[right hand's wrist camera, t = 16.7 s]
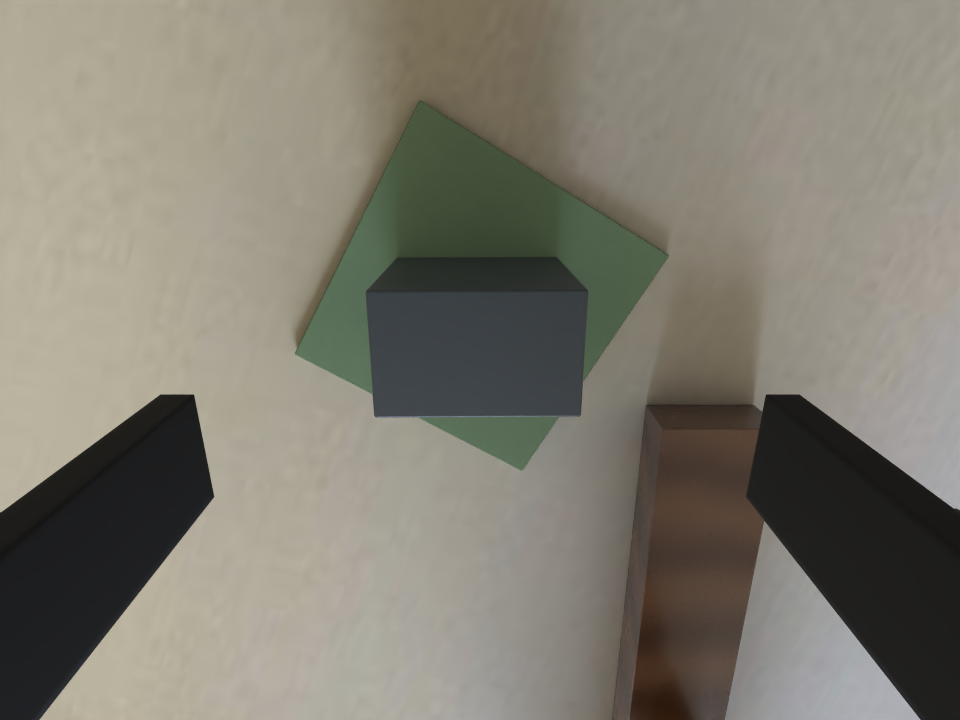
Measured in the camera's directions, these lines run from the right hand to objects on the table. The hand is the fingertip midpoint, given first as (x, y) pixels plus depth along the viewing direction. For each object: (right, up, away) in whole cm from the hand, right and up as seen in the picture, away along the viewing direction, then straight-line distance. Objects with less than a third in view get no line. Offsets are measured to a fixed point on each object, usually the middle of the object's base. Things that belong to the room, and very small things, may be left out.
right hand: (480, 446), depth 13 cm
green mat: (0, +5, +15) cm, 16 cm away
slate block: (0, +5, +15) cm, 16 cm away
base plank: (+12, -13, +22) cm, 28 cm away
